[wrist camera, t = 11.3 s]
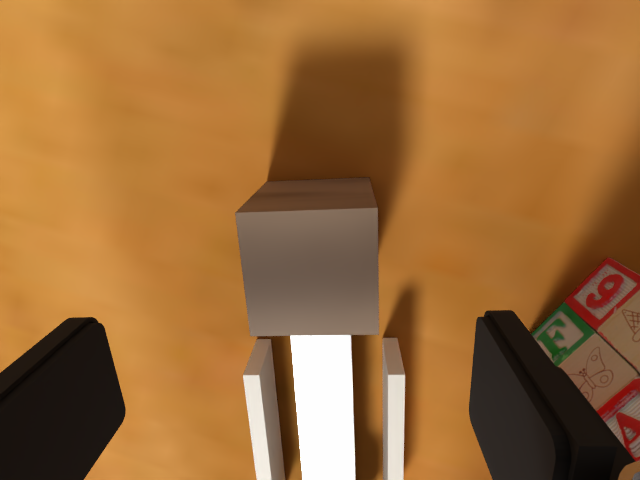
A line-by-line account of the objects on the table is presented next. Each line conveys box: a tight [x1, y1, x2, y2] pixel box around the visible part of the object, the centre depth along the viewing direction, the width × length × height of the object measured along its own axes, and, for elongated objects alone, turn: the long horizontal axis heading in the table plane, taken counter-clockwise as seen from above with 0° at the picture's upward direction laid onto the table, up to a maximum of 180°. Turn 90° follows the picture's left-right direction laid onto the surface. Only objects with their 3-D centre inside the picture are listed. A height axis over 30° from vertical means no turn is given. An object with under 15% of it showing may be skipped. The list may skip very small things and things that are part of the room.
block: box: [235, 177, 379, 336], centre depth 18 cm, size 5×5×6 cm
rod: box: [291, 335, 356, 480], centre depth 22 cm, size 16×4×4 cm, turn 3°
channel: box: [243, 338, 405, 480], centre depth 23 cm, size 11×8×3 cm
